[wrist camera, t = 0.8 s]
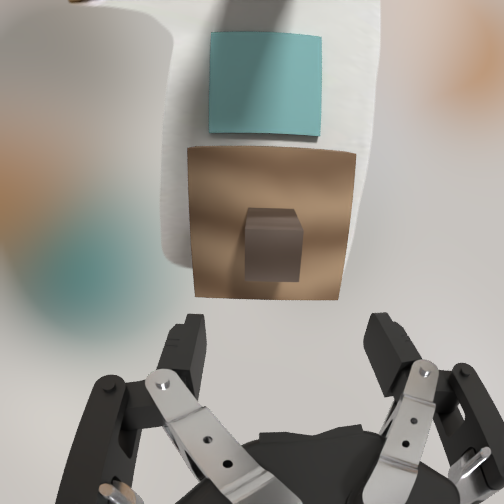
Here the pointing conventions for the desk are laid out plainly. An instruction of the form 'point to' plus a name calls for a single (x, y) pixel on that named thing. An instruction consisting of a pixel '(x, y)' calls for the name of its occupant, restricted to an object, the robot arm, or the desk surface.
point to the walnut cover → (269, 221)
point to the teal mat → (265, 83)
